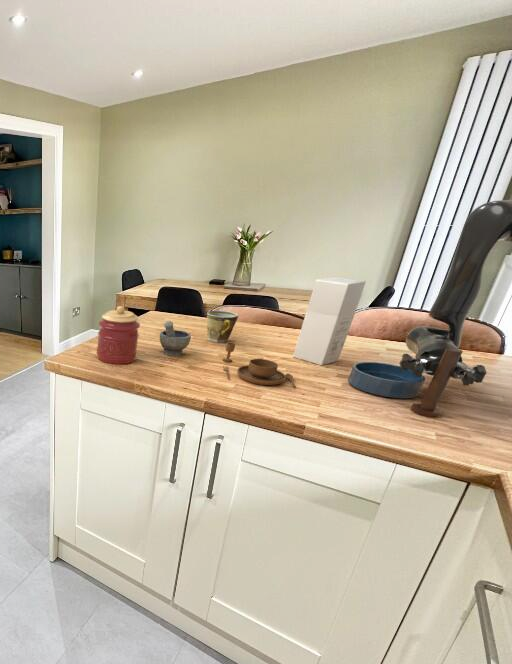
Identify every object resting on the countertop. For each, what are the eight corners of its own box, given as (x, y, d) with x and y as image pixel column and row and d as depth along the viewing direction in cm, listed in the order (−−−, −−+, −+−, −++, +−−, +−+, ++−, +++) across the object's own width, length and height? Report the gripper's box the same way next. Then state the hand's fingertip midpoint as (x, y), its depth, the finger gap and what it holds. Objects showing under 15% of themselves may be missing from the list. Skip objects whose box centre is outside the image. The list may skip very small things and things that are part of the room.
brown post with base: (438, 411, 95) (469, 348, 89) (440, 419, 92) (472, 355, 85) (409, 405, 98) (437, 344, 92) (410, 413, 95) (439, 350, 88)
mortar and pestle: (167, 346, 143) (172, 313, 138) (192, 353, 136) (199, 319, 131) (149, 353, 137) (153, 319, 132) (174, 361, 130) (180, 325, 125)
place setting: (227, 382, 114) (231, 363, 111) (220, 358, 131) (223, 341, 128) (299, 390, 108) (306, 370, 105) (282, 364, 125) (287, 346, 122)
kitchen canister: (121, 368, 126) (127, 313, 119) (88, 357, 135) (91, 306, 128) (143, 357, 134) (150, 305, 126) (110, 348, 143) (115, 299, 135)
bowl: (415, 386, 108) (423, 369, 106) (418, 405, 98) (427, 387, 96) (348, 374, 117) (354, 358, 114) (345, 390, 107) (351, 373, 105)
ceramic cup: (198, 335, 153) (203, 310, 149) (226, 336, 152) (232, 310, 147) (210, 346, 141) (215, 319, 137) (240, 347, 140) (246, 319, 136)
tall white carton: (309, 352, 133) (333, 276, 123) (338, 360, 126) (366, 281, 116) (292, 356, 130) (315, 279, 120) (321, 365, 123) (348, 284, 112)
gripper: (404, 337, 103) (406, 355, 92) (487, 348, 95) (500, 369, 84) (393, 364, 107) (394, 384, 95) (472, 377, 98) (483, 401, 87)
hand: (443, 377), depth 90 cm, fingers open, 7 cm apart
